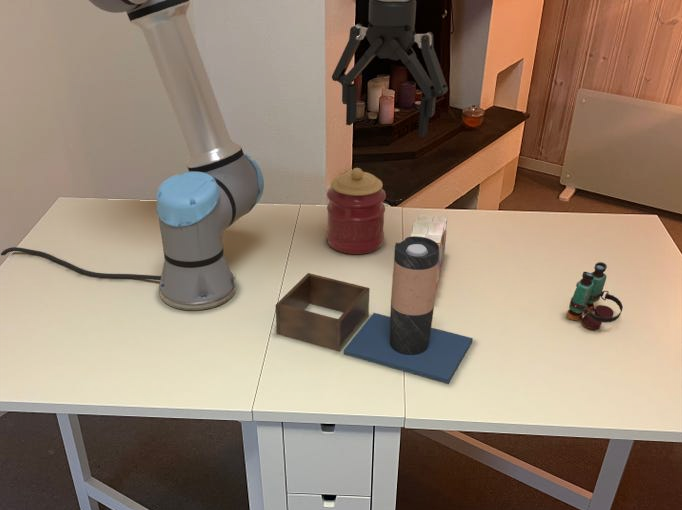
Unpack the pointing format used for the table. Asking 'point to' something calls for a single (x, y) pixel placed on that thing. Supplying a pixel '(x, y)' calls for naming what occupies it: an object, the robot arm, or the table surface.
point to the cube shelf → (318, 326)
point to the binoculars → (592, 299)
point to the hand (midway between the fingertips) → (386, 129)
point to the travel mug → (413, 294)
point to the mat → (430, 364)
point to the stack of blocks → (432, 234)
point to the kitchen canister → (356, 213)
